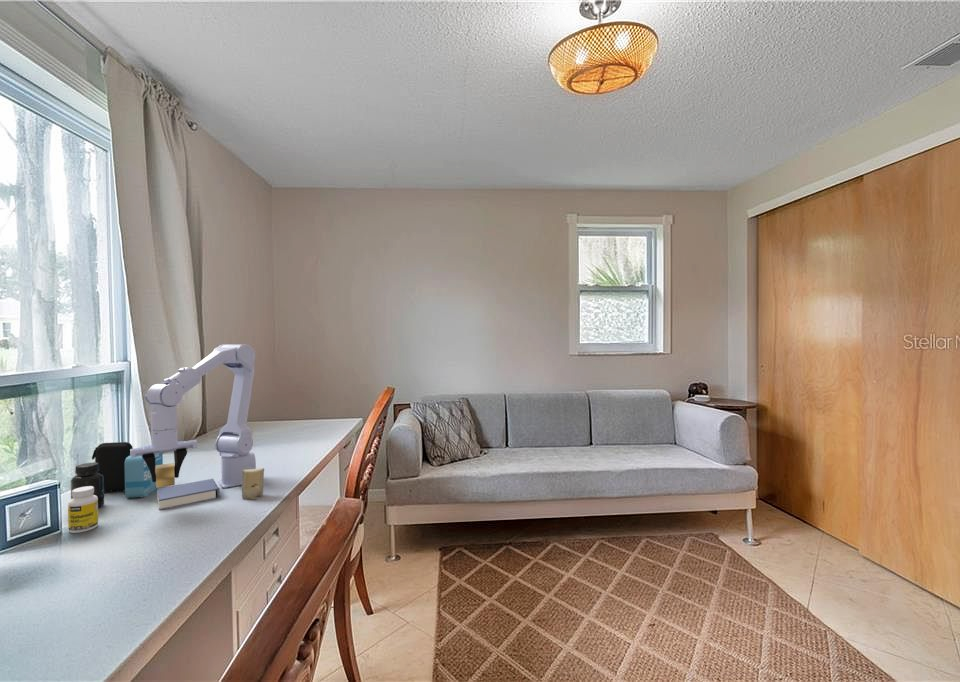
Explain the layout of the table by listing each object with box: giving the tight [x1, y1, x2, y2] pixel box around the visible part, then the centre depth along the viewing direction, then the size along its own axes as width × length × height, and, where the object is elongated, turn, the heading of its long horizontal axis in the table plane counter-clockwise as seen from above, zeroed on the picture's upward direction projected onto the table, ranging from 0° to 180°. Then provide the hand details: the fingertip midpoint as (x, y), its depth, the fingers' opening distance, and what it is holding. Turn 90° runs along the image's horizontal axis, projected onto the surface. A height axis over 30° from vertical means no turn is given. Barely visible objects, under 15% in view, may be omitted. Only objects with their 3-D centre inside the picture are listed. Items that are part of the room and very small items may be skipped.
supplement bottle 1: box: [70, 461, 105, 510], centre depth 120 cm, size 7×7×12 cm
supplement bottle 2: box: [67, 486, 99, 534], centre depth 107 cm, size 5×5×10 cm
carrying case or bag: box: [91, 441, 134, 493], centre depth 133 cm, size 11×3×15 cm, turn 100°
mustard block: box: [156, 462, 176, 489], centre depth 119 cm, size 4×4×5 cm
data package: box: [124, 452, 164, 499], centre depth 132 cm, size 12×4×12 cm, turn 12°
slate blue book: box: [156, 478, 220, 511], centre depth 127 cm, size 14×11×3 cm
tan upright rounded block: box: [241, 467, 265, 500], centre depth 128 cm, size 6×5×8 cm
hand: (165, 479), depth 119 cm, fingers closed on mustard block, 4 cm apart
